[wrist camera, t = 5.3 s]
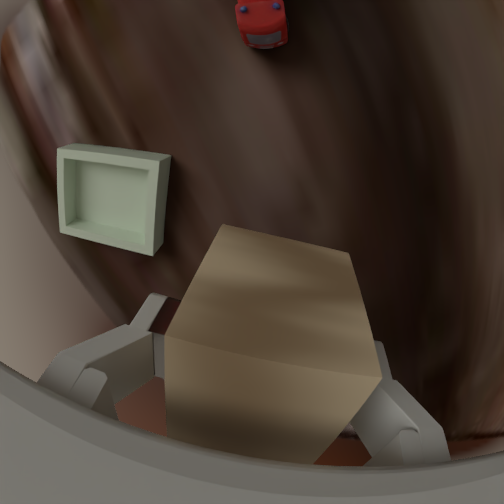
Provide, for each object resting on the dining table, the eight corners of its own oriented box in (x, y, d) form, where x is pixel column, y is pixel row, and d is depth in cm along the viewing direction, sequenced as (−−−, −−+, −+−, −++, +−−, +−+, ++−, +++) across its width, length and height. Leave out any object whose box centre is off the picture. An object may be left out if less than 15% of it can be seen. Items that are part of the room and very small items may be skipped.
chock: (348, 252, 9) (382, 377, 5) (304, 361, 12) (301, 475, 7) (222, 224, 10) (164, 334, 5) (205, 340, 12) (168, 449, 7)
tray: (171, 155, 24) (159, 161, 21) (163, 243, 27) (152, 256, 25) (73, 143, 24) (57, 148, 22) (74, 222, 27) (60, 232, 25)
